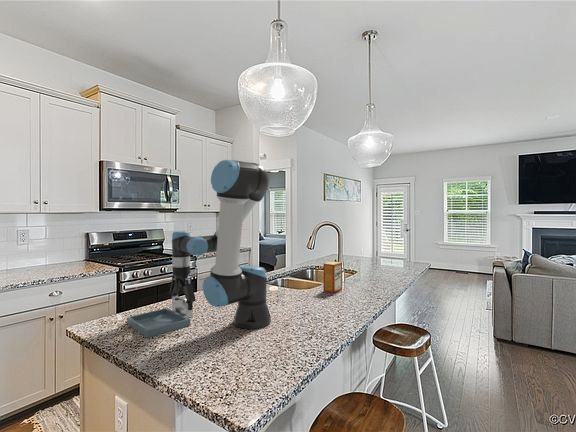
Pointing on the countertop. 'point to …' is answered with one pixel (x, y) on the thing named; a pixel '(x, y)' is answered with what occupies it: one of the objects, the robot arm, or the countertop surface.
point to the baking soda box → (332, 276)
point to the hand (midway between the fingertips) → (182, 313)
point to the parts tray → (157, 322)
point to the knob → (180, 305)
